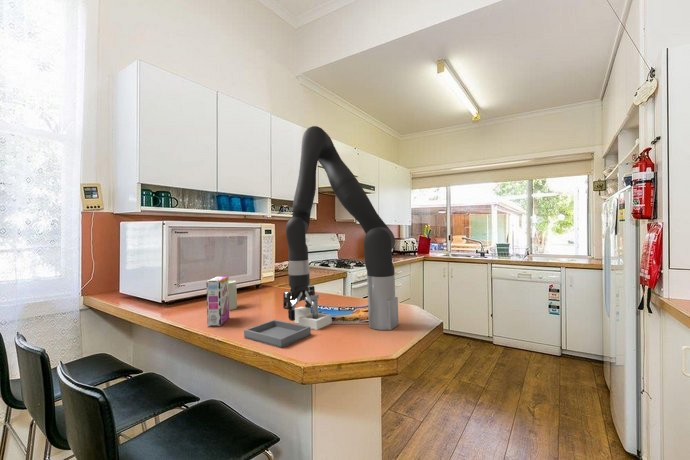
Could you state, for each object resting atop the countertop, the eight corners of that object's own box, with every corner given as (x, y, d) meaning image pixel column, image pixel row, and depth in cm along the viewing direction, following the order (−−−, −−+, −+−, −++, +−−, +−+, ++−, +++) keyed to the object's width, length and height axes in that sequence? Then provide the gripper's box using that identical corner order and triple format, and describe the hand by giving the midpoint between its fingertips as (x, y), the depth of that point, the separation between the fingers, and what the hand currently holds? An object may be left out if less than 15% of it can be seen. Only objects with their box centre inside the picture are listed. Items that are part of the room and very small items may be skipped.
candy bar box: (221, 326, 112) (219, 280, 111) (207, 327, 111) (205, 281, 111) (230, 317, 123) (228, 275, 123) (217, 318, 122) (215, 276, 122)
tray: (310, 334, 100) (310, 326, 100) (281, 348, 89) (281, 339, 89) (274, 326, 109) (274, 319, 109) (244, 337, 99) (243, 330, 99)
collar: (331, 323, 111) (331, 309, 111) (317, 329, 104) (316, 314, 104) (305, 318, 118) (304, 305, 118) (290, 324, 111) (289, 310, 111)
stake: (320, 323, 111) (319, 295, 110) (315, 326, 108) (313, 296, 108) (316, 323, 112) (315, 294, 112) (310, 325, 109) (309, 296, 109)
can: (242, 306, 139) (241, 279, 139) (224, 312, 131) (223, 283, 131) (228, 304, 144) (227, 278, 144) (210, 309, 136) (209, 282, 136)
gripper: (292, 276, 106) (294, 324, 106) (319, 270, 117) (321, 313, 118) (277, 274, 110) (278, 321, 110) (304, 269, 122) (306, 311, 122)
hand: (300, 317), depth 114 cm, fingers open, 8 cm apart
